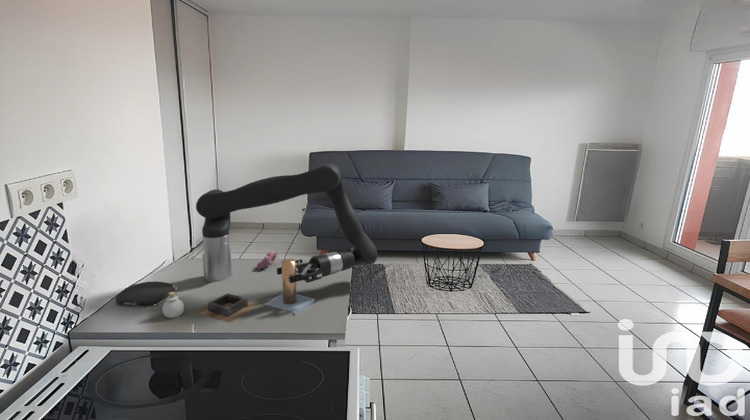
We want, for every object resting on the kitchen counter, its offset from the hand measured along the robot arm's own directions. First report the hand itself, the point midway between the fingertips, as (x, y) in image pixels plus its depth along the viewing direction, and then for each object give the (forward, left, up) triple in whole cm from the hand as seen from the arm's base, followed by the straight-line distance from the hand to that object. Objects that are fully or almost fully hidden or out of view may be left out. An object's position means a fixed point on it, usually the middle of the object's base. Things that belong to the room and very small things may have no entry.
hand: (283, 275), depth 139 cm
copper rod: (+1, +2, -10) cm, 10 cm away
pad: (+1, +2, -10) cm, 11 cm away
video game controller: (-28, +26, -11) cm, 39 cm away
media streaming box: (-45, -16, -11) cm, 49 cm away
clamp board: (-13, -11, -10) cm, 20 cm away
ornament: (-25, -21, -11) cm, 35 cm away
